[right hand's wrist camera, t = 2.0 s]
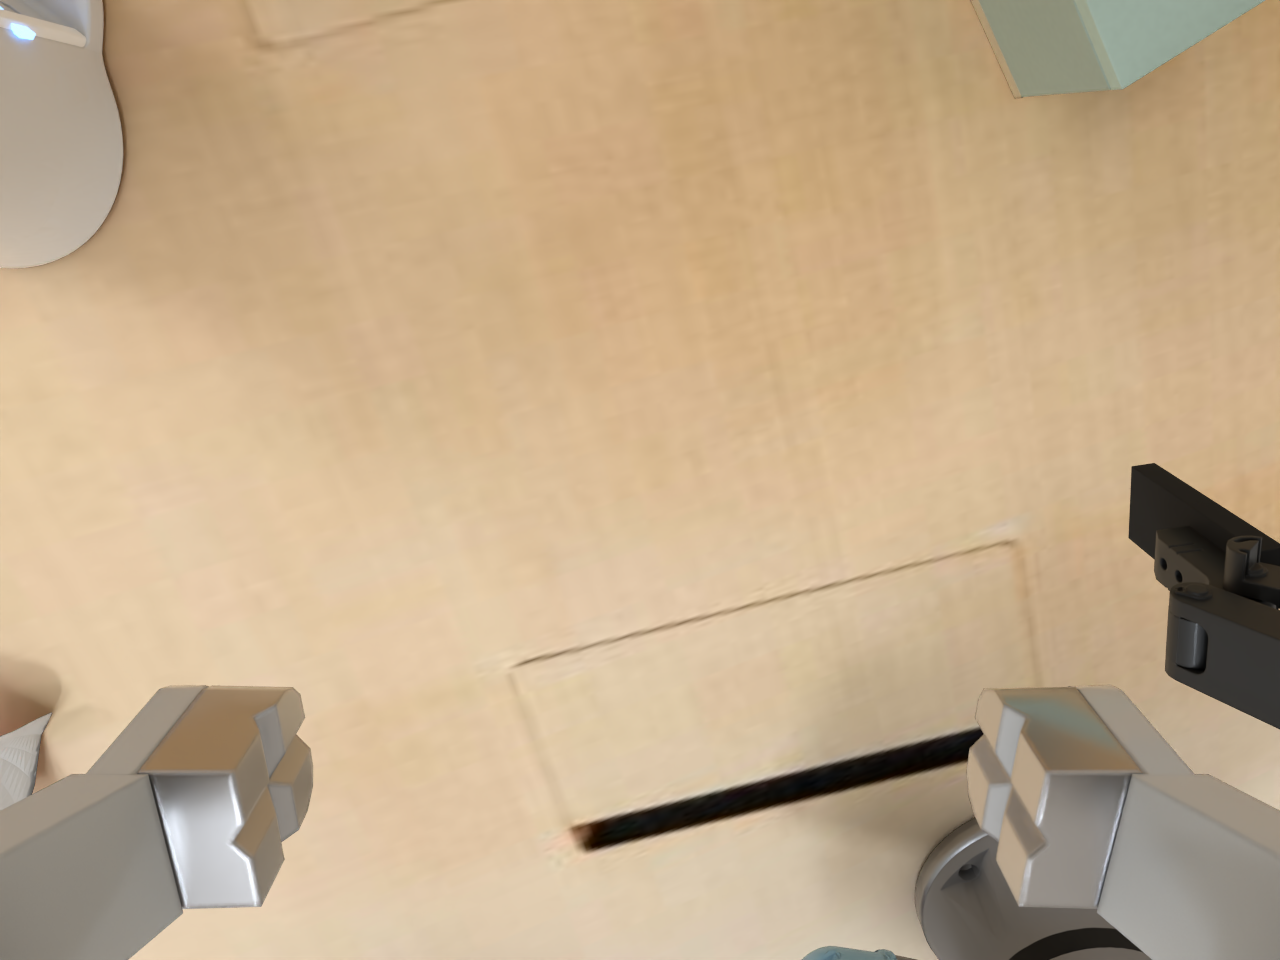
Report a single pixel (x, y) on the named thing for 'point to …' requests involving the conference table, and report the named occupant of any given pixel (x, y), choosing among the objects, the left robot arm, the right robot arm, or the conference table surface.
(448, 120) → the conference table surface
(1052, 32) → the chest
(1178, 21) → the lid
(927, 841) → the conference table surface
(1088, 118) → the conference table surface
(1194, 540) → the left robot arm
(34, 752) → the red white angular piece
